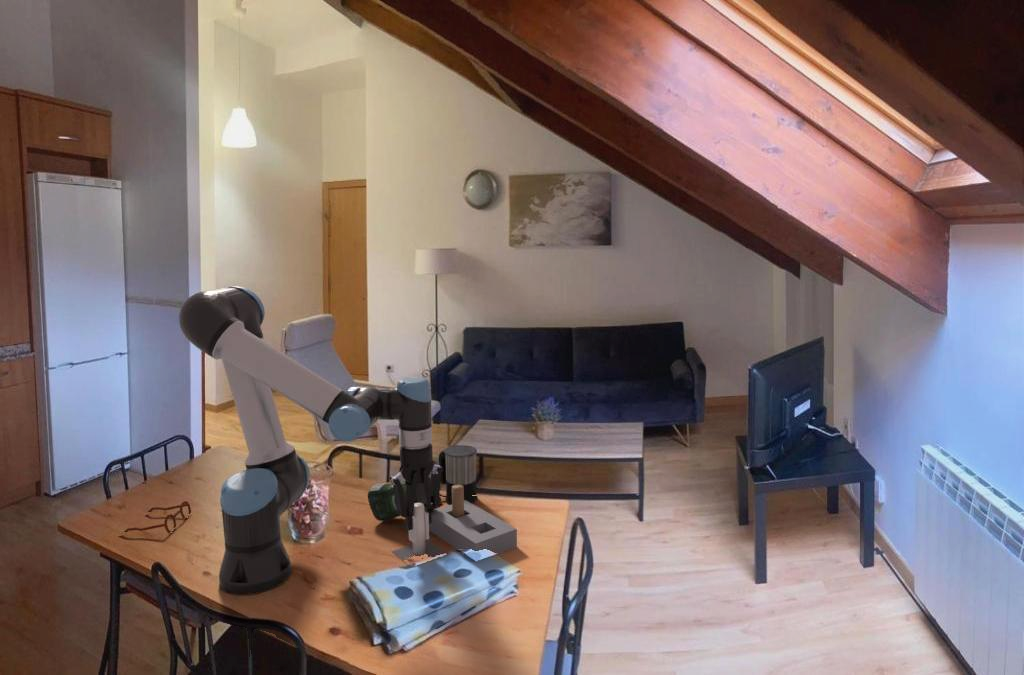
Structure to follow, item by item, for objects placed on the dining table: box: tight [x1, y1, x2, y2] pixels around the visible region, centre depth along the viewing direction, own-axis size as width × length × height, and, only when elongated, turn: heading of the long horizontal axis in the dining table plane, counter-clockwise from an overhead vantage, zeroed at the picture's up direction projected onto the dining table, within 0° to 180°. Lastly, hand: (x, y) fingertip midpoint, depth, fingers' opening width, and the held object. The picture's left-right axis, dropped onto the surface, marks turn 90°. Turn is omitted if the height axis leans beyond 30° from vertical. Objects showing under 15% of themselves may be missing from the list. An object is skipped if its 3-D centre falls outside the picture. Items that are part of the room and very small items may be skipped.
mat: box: [391, 539, 447, 562], centre depth 162 cm, size 10×10×1 cm
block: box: [429, 485, 518, 555], centre depth 169 cm, size 12×22×12 cm, turn 38°
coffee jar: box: [367, 476, 437, 522], centre depth 177 cm, size 10×8×19 cm
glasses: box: [123, 500, 192, 534], centre depth 180 cm, size 13×13×5 cm
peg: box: [412, 503, 426, 556], centre depth 161 cm, size 3×3×12 cm
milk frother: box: [438, 444, 479, 507], centre depth 191 cm, size 14×16×15 cm
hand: (419, 539), depth 162 cm, fingers closed on peg, 2 cm apart
